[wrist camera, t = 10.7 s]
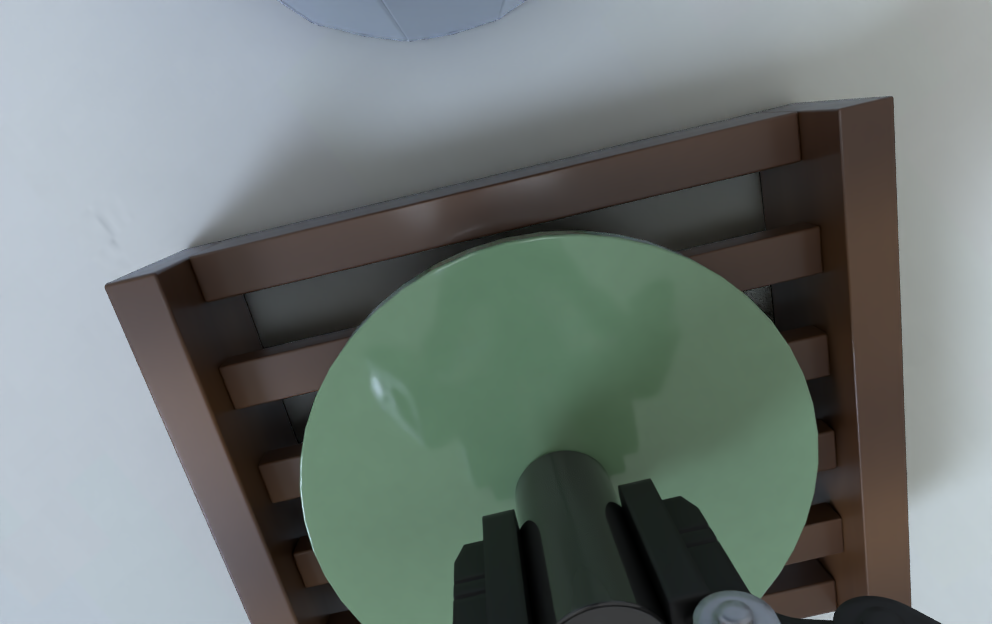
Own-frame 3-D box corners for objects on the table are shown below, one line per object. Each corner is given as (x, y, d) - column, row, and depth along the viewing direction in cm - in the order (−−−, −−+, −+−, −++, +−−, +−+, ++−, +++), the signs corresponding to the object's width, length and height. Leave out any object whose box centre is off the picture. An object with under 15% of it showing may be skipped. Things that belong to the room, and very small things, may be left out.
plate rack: (182, 249, 17) (100, 284, 13) (796, 102, 17) (894, 95, 13) (342, 660, 21) (316, 776, 18) (832, 551, 21) (913, 644, 17)
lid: (239, 295, 15) (83, 412, 9) (770, 169, 14) (987, 199, 8) (388, 699, 18) (351, 975, 12) (812, 604, 18) (983, 840, 12)
